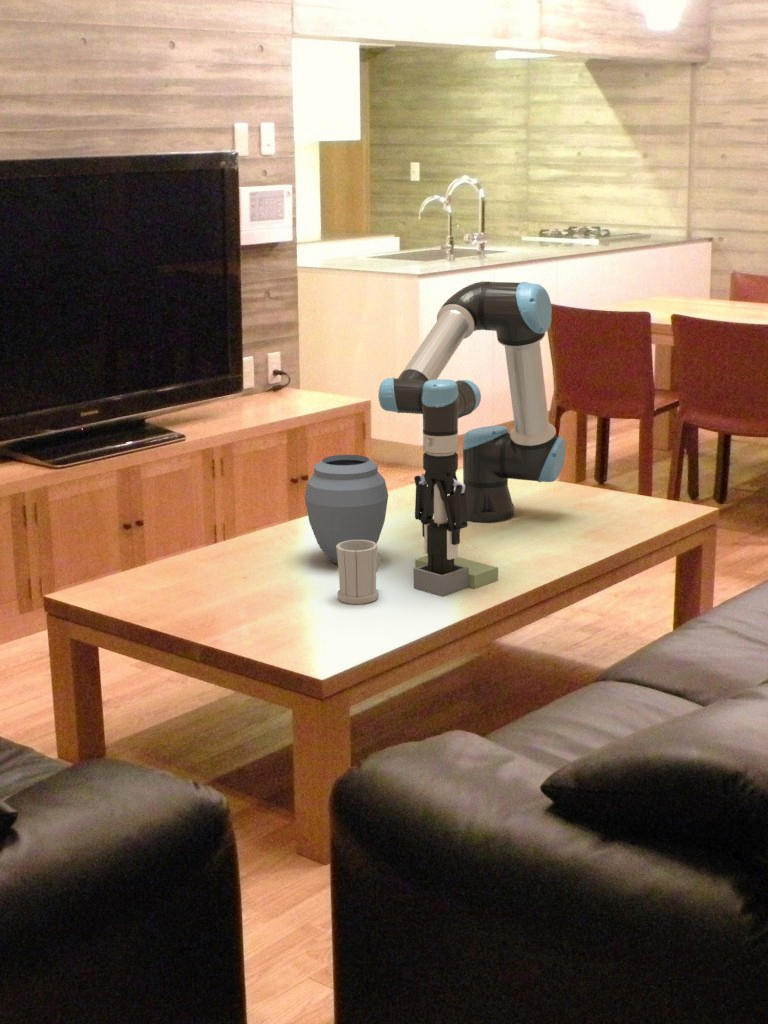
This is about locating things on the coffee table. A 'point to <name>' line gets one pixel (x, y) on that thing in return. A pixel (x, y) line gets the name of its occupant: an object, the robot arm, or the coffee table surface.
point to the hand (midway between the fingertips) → (441, 554)
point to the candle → (438, 538)
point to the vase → (345, 501)
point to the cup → (357, 571)
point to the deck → (453, 576)
